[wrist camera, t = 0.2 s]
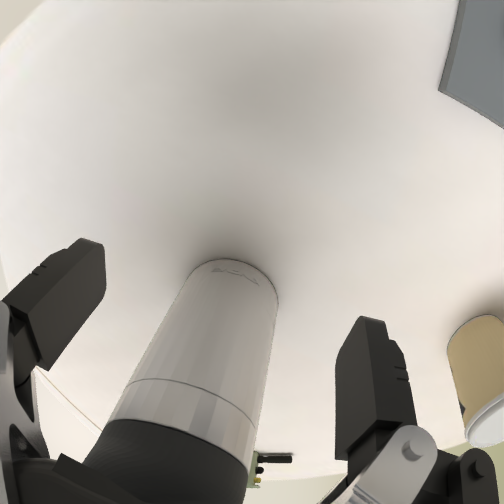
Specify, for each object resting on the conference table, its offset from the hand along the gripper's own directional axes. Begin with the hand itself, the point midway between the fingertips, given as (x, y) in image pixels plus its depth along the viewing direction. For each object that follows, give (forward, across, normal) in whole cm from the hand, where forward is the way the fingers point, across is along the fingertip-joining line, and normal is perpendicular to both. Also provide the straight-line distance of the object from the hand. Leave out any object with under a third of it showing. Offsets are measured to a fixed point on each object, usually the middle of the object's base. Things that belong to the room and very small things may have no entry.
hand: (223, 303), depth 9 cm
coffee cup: (+17, +27, -12) cm, 34 cm away
